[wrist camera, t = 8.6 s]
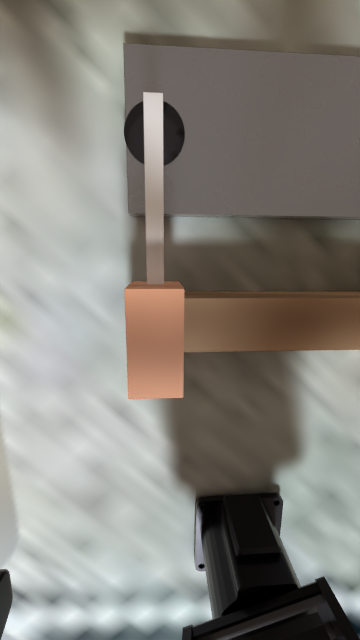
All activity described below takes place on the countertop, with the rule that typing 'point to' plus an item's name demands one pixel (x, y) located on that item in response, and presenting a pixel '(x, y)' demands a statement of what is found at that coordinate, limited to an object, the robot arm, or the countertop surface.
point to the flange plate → (247, 132)
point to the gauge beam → (214, 304)
